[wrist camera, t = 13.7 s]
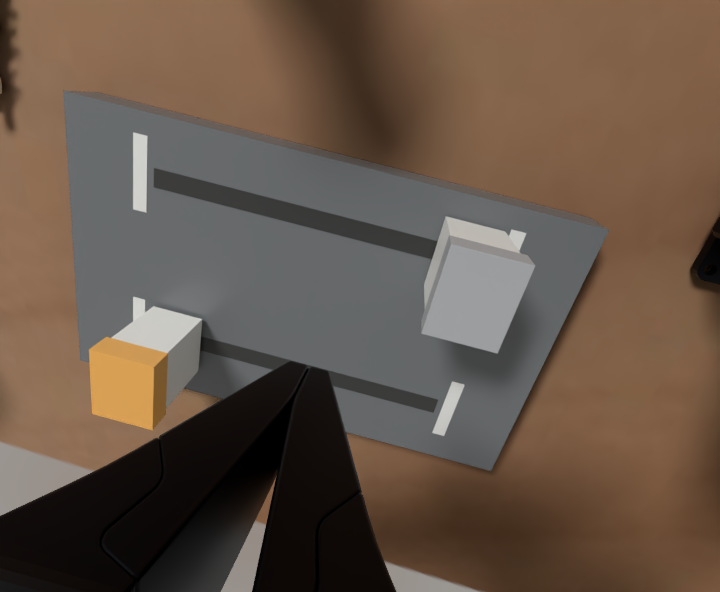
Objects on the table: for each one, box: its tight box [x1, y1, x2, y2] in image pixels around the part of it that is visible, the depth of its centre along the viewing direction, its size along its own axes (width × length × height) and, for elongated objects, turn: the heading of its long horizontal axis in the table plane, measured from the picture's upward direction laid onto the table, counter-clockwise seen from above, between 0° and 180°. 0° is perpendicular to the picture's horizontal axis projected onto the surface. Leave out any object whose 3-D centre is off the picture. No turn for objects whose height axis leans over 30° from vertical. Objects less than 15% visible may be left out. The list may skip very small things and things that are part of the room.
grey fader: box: [421, 216, 535, 354], centre depth 15 cm, size 3×3×4 cm
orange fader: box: [89, 306, 202, 430], centre depth 19 cm, size 3×3×4 cm
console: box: [63, 91, 609, 471], centre depth 20 cm, size 22×13×2 cm, turn 77°
